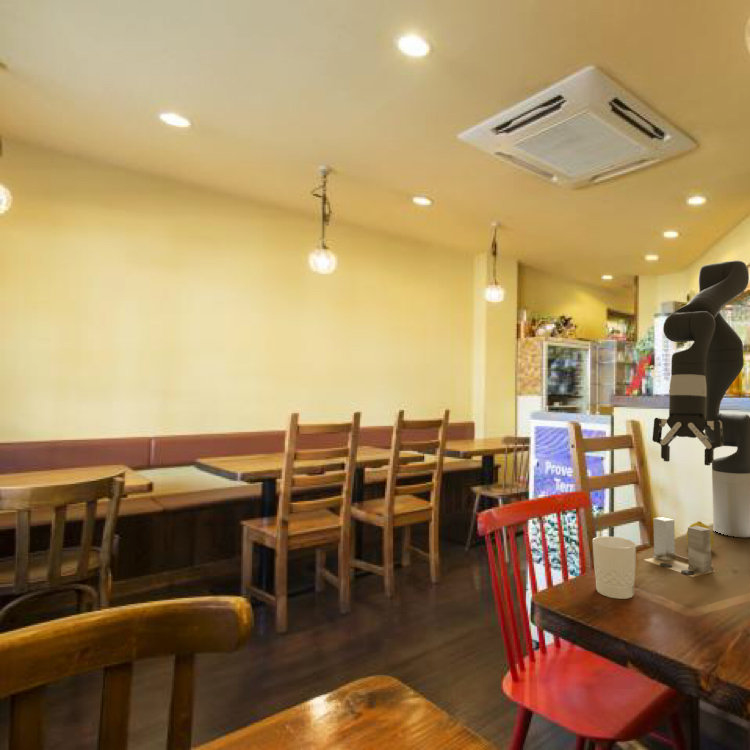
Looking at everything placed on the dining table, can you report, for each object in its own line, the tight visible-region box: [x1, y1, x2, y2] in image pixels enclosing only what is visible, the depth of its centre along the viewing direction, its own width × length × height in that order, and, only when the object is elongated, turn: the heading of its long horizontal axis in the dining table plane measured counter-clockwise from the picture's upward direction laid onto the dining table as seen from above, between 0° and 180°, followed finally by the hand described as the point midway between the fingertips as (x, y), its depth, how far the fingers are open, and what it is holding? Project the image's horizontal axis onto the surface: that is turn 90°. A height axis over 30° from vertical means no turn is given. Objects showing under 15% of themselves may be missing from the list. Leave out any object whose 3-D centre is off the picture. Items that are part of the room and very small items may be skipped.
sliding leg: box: [652, 516, 676, 561], centre depth 118 cm, size 5×3×9 cm, turn 114°
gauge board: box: [643, 526, 716, 578], centre depth 114 cm, size 8×12×10 cm, turn 24°
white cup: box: [592, 535, 637, 600], centre depth 103 cm, size 8×8×10 cm
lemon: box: [686, 521, 714, 549], centre depth 125 cm, size 6×6×8 cm
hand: (686, 463), depth 121 cm, fingers open, 8 cm apart
